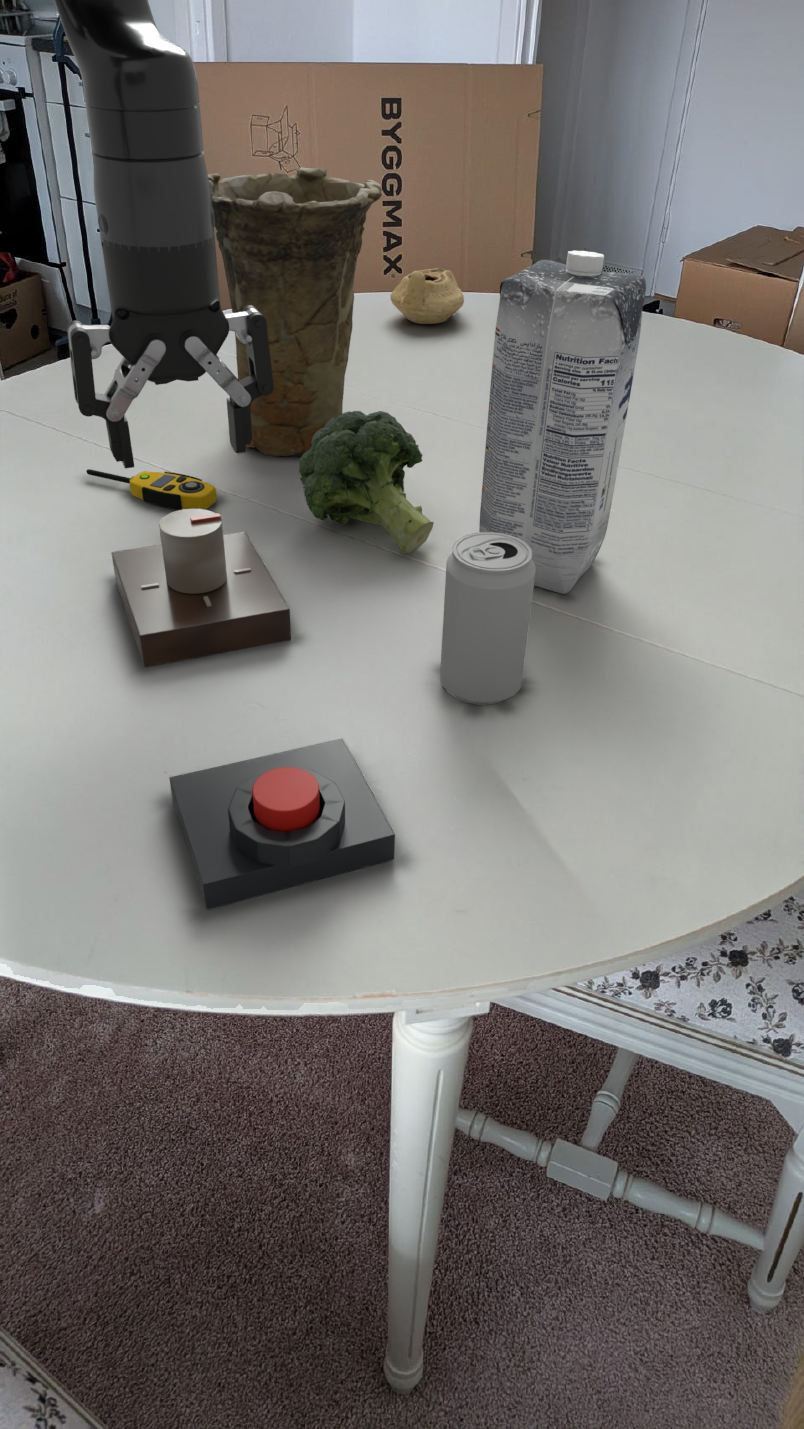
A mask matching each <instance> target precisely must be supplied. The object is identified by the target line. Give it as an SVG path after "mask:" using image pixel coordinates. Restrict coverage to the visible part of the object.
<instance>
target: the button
mask: <svg viewBox="0 0 804 1429" xmlns="http://www.w3.org/2000/svg"><path fill="white" fill-rule="evenodd" d="M252 794H253V806H254V814H255V817H256V819H257V820H258V822H259V823H260V824H261V825H263V826H264V827H266V828H268V829H270V830H274V831H282V832H290V831H294V830H298V829H302V828H305V827H307V826H308V825H310V824H311V823H312V822H313V821H314V820H315V819H316V817H317V816H318V814H319V810H320V802H319V784H318V782H317V780H316V778H315V777H314V776H313V775H312V774H310V773H309V772H307V771H305V770H303V769H299V768H295V767H280V768H276V769H272V770H269V771H267V772H265V773H264V774H262V775H261V776H260V777H259V778H258V779H257V780H256V781H255V783H254V785H253V789H252Z"/></svg>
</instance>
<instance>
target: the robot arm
mask: <svg viewBox="0 0 804 1429" xmlns="http://www.w3.org/2000/svg"><path fill="white" fill-rule="evenodd" d="M53 2H54V5H55V7H56V10H57V13H58V16H59V19H60V23H61V25H62V28H63V31H64V34H65V36H66V40H67V42H68V45H69V47H70V49H71V52H72V54H73V56H74V59H75V62H76V64H77V67H78V70H79V73H80V77H81V80H82V89H83V90H82V91H83V98H84V103H85V104H84V107H85V113H86V120H87V126H88V127H87V128H88V133H89V141H90V147H91V151H92V153H91V155H92V166H93V167H92V168H93V193H94V203H95V209H96V215H97V225H98V228H99V236H100V243H101V250H102V256H103V262H104V263H103V264H104V270H105V277H106V283H107V289H108V297H109V302H110V303H109V304H110V316H109V319H108V322H107V324H83V323H82V321H79V320H72V321H70V322H69V323H68V324H67V327H66V331H67V340H68V349H69V357H70V359H69V360H70V366H71V368H70V369H71V375H72V386H73V392H74V399H75V401H76V403H77V404H78V405H77V406H78V409H79V412H80V414H81V415H83V416H84V417H92V416H94V417H99V418H102V419H103V420H105V425H106V431H107V438H108V443H109V444H108V445H109V450H110V451H111V454H112V457H113V458H114V460H115V462H116V463H119V462H121V463H122V465H123V467H124V469H132V468H135V461H134V454H133V447H132V440H131V434H130V427H129V422H128V419H127V417H126V413H127V411H128V409H129V407H130V406H131V404H132V402H133V401H134V400H135V399H136V398H138V397H139V395H140V393H141V392H142V390H143V388H144V386H145V385H146V383H147V382H148V381H149V382H151V383H154V384H155V386H159V385H167V384H169V383H173V382H176V381H183V382H194V381H199V378H200V377H202V376H204V375H205V374H206V373H207V374H208V375H209V376H210V377H211V379H213V380H214V382H215V383H216V384H217V385H218V386H219V387H220V388H221V389H222V390H223V391H224V392H225V393H226V394H227V395H228V396H229V398H226V410H227V423H228V433H229V434H228V435H229V442H230V446H231V448H232V450H233V451H234V453H235V454H242V453H246V445H248V444H250V443H251V440H252V426H251V412H250V406H251V403H252V401H253V400H254V399H256V398H258V397H260V396H262V395H263V396H268V395H270V394H271V393H272V392H273V390H274V385H273V376H272V367H271V358H270V350H269V341H268V332H267V323H266V319H265V318H264V317H263V315H262V314H261V313H260V312H259V311H258V310H257V309H256V308H255V307H254V306H252V305H248V306H246V307H244V308H243V310H242V312H237V313H232V312H230V313H224V311H223V309H222V306H221V296H220V284H219V283H220V282H219V273H218V261H217V249H216V248H217V247H216V233H215V225H214V224H215V214H214V211H213V207H212V199H211V190H210V184H209V179H208V171H207V165H206V158H205V152H204V139H203V138H204V137H203V128H202V116H201V104H200V92H199V85H198V83H199V82H198V76H197V72H196V67H195V64H194V60H193V59H192V57H191V55H190V54H189V53H188V52H187V50H186V49H184V48H183V47H182V46H180V45H179V44H177V43H176V42H173V41H172V40H171V39H168V38H167V37H166V36H164V35H163V34H162V33H161V32H160V30H159V29H158V27H157V25H156V24H157V23H156V21H155V19H154V16H153V13H152V9H151V6H150V4H149V0H53ZM230 332H234V334H235V333H236V336H237V338H238V339H239V340H240V341H241V342H242V343H243V344H246V351H247V359H248V366H249V374H250V376H248V377H246V378H244V379H242V380H240V381H239V380H238V376H236V375H235V374H234V373H233V371H231V369H230V368H229V367H228V366H227V365H226V364H225V363H224V361H223V360H222V359H221V358H220V357H219V356H218V354H219V351H220V349H221V348H222V346H223V344H224V343H225V341H226V340H227V338H228V335H229V333H230ZM107 343H110V344H111V345H112V346H113V347H114V349H115V350H116V351H117V352H118V353H119V354H120V355H121V356H122V359H121V361H120V362H119V364H118V366H117V368H116V369H115V371H114V375H113V378H112V380H111V382H110V383H109V386H108V387H107V389H106V391H105V392H104V394H103V393H98V392H96V386H95V378H94V368H93V360H96V359H99V357H101V355H102V352H103V351H102V350H103V346H104V345H106V344H107Z"/></svg>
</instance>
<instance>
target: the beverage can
mask: <svg viewBox="0 0 804 1429" xmlns="http://www.w3.org/2000/svg"><path fill="white" fill-rule="evenodd" d="M534 578H535V564H534V562H533V561H532V550H531V548H530V546H529V545H528V544H527V543H525V542H524V541H523V540H521V539H519V538H517V537H514V536H511V535H508V534H504V533H497V532H479V531H478V532H473V533H470V534H466V535H463V536H462V537H459V539H457V540H456V541H455V542H454V543H453V545H452V552H451V554H450V555H449V557H448V558H447V560H446V565H445V584H444V599H443V600H444V601H443V616H442V617H443V619H442V632H441V633H442V635H441V651H440V652H441V653H440V668H439V679H440V682H441V685H442V686H443V688H444V689H445V690H446V691H447V692H448V693H450V694H451V695H452V696H453V697H455V698H456V699H458V700H460V701H462V702H464V703H468V704H471V705H479V706H480V705H481V706H482V705H484V706H485V705H494V704H497V703H500V702H503V701H505V700H506V701H507V700H508V699H510V698H511V697H513V696H515V695H516V694H517V693H518V692H519V691H520V689H521V687H522V684H523V677H524V670H525V669H524V668H525V662H526V661H525V660H526V652H527V643H528V637H529V636H528V635H529V627H530V618H531V610H532V603H533V594H534V588H535V587H534V586H535V585H534Z"/></svg>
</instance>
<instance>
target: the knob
mask: <svg viewBox="0 0 804 1429" xmlns="http://www.w3.org/2000/svg"><path fill="white" fill-rule="evenodd" d="M158 529H159V537H160V545H161V544H162V552H163V559H164V567H165V574H166V581H167V584H168V585H169V587H171V588H172V589H174V590H176V591H178V592H182V593H188V594H199V593H206V592H210V591H213V590H215V589H217V588H219V587H221V586H222V585H223V584H224V583H225V581H226V579H227V571H226V560H225V549H224V538H223V535H224V529H223V519H222V515H221V513H217V512H214V511H212V510H208V509H205V510H204V509H182V510H179V509H177V510H175V511H172V512H170V513H167V514H166V515H164V516H163V517H161V519H160V521H159V522H158Z"/></svg>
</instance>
